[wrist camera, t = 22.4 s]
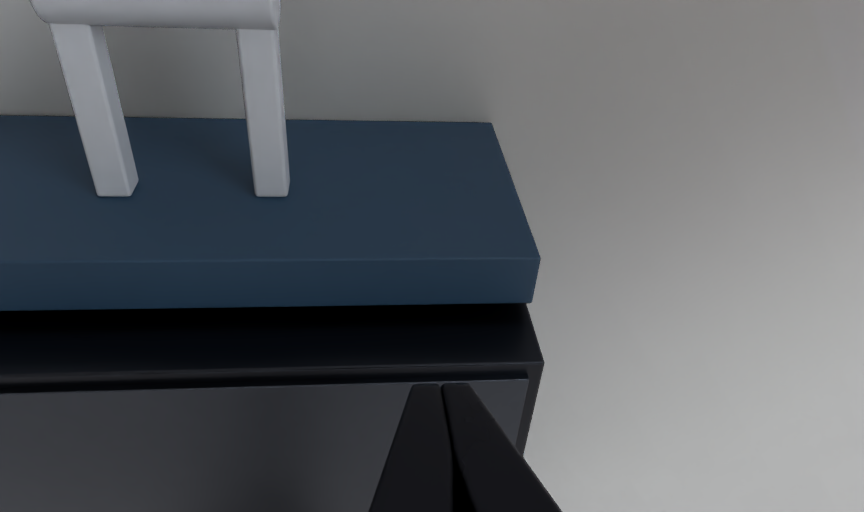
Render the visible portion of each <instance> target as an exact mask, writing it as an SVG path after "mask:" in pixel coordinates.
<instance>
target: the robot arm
mask: <svg viewBox="0 0 864 512" xmlns="http://www.w3.org/2000/svg"><path fill="white" fill-rule="evenodd" d="M368 512H562V511H561V509H560V508H559V507H558V505H557V504H556V503H555V501H554V500H553V498H552V497H551V496H550V494H549V493H548V491H547V490H546V489H545V487H544V486H543V484H542V483H541V482H540V480H539V479H538V478H537V476H536V475H535V473H534V472H533V471H532V469H531V468H530V466H529V465H528V464H527V462H526V461H525V460H524V458H523V457H522V455H521V454H520V453H519V451H518V450H517V448H516V447H515V446H514V444H513V443H512V441H511V440H510V439H509V437H508V436H507V435H506V433H505V432H504V430H503V429H502V428H501V426H500V425H499V423H498V422H497V421H496V419H495V418H494V416H493V415H492V414H491V412H490V411H489V410H488V408H487V407H486V405H485V404H484V403H483V401H482V400H481V398H480V397H479V396H478V394H477V393H476V391H475V390H474V389H473V387H472V386H471V385H470V384H468V383H445V384H443V385H442V386H441V387H440V386H439V385H438V384H435V383H433V384H414V385H413V386H412V387H411V389H410V392H409V395H408V398H407V401H406V404H405V406H404V409H403V412H402V415H401V418H400V421H399V424H398V427H397V430H396V433H395V436H394V439H393V441H392V444H391V447H390V450H389V453H388V456H387V459H386V462H385V465H384V468H383V471H382V473H381V476H380V479H379V482H378V485H377V488H376V491H375V494H374V497H373V500H372V503H371V505H370V508H369V511H368Z"/></svg>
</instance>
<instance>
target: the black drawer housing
mask: <svg viewBox="0 0 864 512" xmlns="http://www.w3.org/2000/svg"><path fill="white" fill-rule="evenodd" d="M543 366H544V360H543V357H542V353H541V350H540V347H539V344H538V340H537V337H536V334H535V331H534V327H533V324H532V321H531V318H530V314H529V311H528V308H527V305H526V303H498V304H432V305H366V306H300V307H235V308H169V309H103V310H37V311H0V512H368V511H369V508H370V505H371V503H372V500H373V497H374V494H375V491H376V488H377V485H378V482H379V479H380V476H381V473H382V471H383V468H384V465H385V462H386V459H387V456H388V453H389V450H390V447H391V444H392V441H393V439H394V436H395V433H396V430H397V427H398V424H399V421H400V418H401V415H402V412H403V409H404V406H405V404H406V401H407V398H408V395H409V392H410V389H411V387H412V386H413V385H414V384H433V383H435V384H438V385H439V386H440V387H441V386H442V385H443V384H445V383H468V384H470V385H471V386H472V387H473V389H474V390H475V391H476V393H477V394H478V396H479V397H480V398H481V400H482V401H483V403H484V404H485V405H486V407H487V408H488V410H489V411H490V412H491V414H492V415H493V416H494V418H495V419H496V421H497V422H498V423H499V425H500V426H501V428H502V429H503V430H504V432H505V433H506V435H507V436H508V437H509V439H510V440H511V441H512V443H513V444H514V446H515V447H516V448H517V450H518V451H519V453H520V454H521V455H522V457H523V454H524V449H525V445H526V441H527V436H528V432H529V428H530V423H531V419H532V414H533V410H534V406H535V401H536V397H537V393H538V388H539V384H540V380H541V375H542V371H543Z"/></svg>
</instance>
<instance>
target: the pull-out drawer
mask: <svg viewBox="0 0 864 512" xmlns="http://www.w3.org/2000/svg"><path fill="white" fill-rule="evenodd" d="M30 2H31V4H32V7H33V9H34V10H35V12H36V14H37V15H38V16H39V17H40V19H42V20H43V21H44V22H46V23H49V26H50V30H51V33H52V37H53V40H54V44H55V47H56V51H57V54H58V58H59V62H60V65H61V69H62V72H63V76H64V79H65V83H66V86H67V90H68V93H69V97H70V101H71V104H72V108H73V111H74V115H75V117H73V116H5V115H0V311H37V310H103V309H169V308H235V307H300V306H366V305H432V304H498V303H531V302H532V299H533V294H534V289H535V284H536V279H537V274H538V269H539V264H540V259H541V258H540V255H539V252H538V249H537V247H536V244H535V241H534V238H533V236H532V233H531V230H530V227H529V225H528V222H527V219H526V216H525V214H524V211H523V208H522V205H521V203H520V200H519V197H518V194H517V192H516V189H515V186H514V183H513V181H512V178H511V175H510V172H509V170H508V167H507V164H506V161H505V159H504V156H503V153H502V150H501V148H500V145H499V142H498V139H497V137H496V134H495V131H494V128H493V126H492V123H478V122H410V121H343V120H285V108H284V96H283V83H282V70H281V57H280V44H279V31H278V26H279V22H280V0H30ZM103 26H133V27H167V28H202V29H236V36H237V45H238V54H239V62H240V71H241V79H242V88H243V97H244V105H245V114H246V119H208V118H140V117H124V116H123V111H122V107H121V103H120V99H119V94H118V90H117V86H116V82H115V77H114V73H113V69H112V65H111V60H110V56H109V52H108V48H107V43H106V39H105V35H104V30H103Z"/></svg>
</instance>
